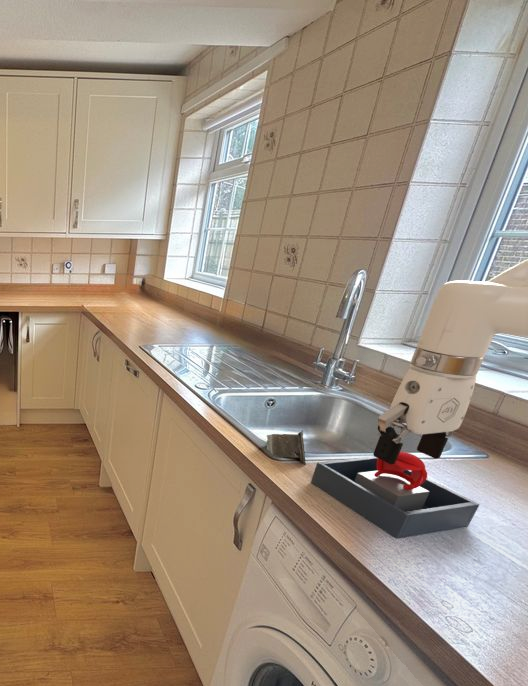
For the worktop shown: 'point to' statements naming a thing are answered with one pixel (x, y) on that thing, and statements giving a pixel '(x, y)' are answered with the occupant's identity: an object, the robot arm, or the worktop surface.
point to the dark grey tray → (435, 515)
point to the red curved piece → (402, 464)
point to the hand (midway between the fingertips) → (405, 457)
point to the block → (393, 490)
